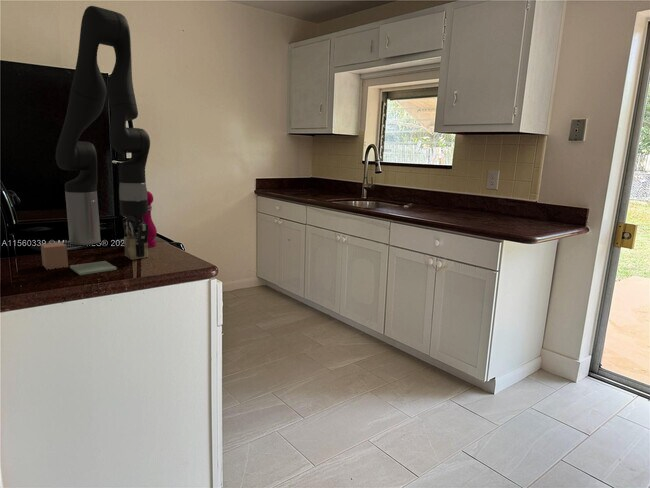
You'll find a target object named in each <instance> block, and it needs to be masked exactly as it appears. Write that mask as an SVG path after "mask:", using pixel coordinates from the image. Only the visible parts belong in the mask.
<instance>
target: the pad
mask: <svg viewBox="0 0 650 488" xmlns="http://www.w3.org/2000/svg"><path fill="white" fill-rule="evenodd" d="M69 268H70V269H71V270H72V271H73V272H75V273H76V274H78V275H79V276H85V275H90V274H98V273H103V272H111V271H116V270H118V267H117V266H115V265H113V264H111V263H110V262H108V261H107V260H103V261H102V260H101V261H94V262H88V263H87V262H86V263H79V264H78V263H77V264H71V265H69Z"/></svg>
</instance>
